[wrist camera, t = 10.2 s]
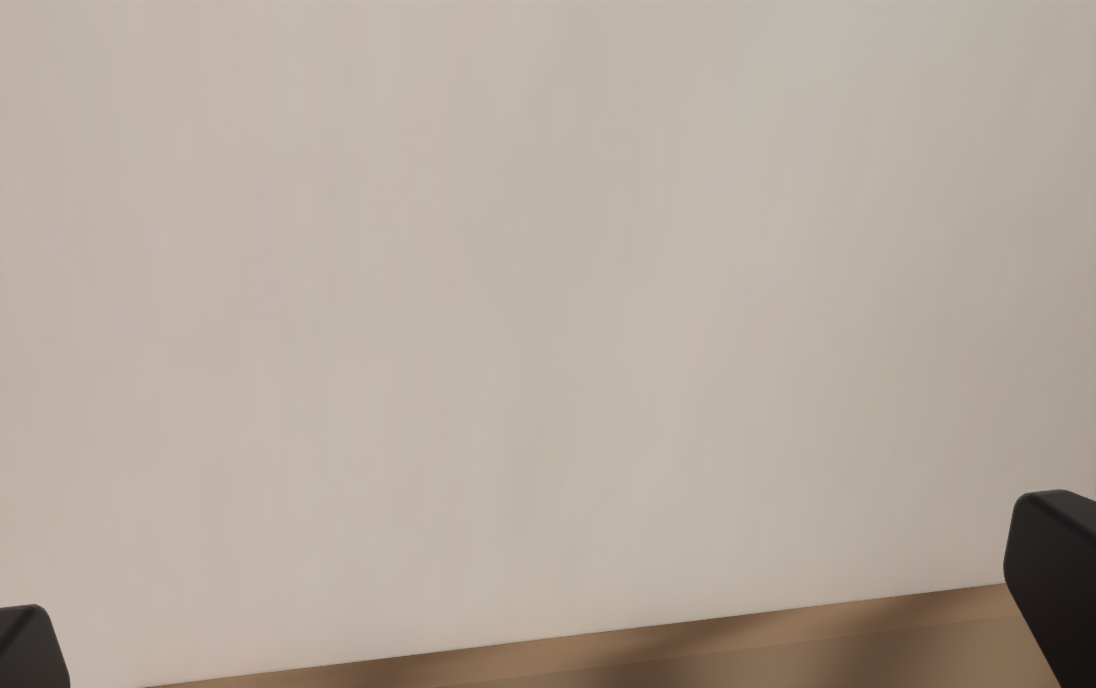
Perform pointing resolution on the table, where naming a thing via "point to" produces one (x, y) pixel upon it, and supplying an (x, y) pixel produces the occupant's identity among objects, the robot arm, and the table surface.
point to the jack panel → (736, 653)
